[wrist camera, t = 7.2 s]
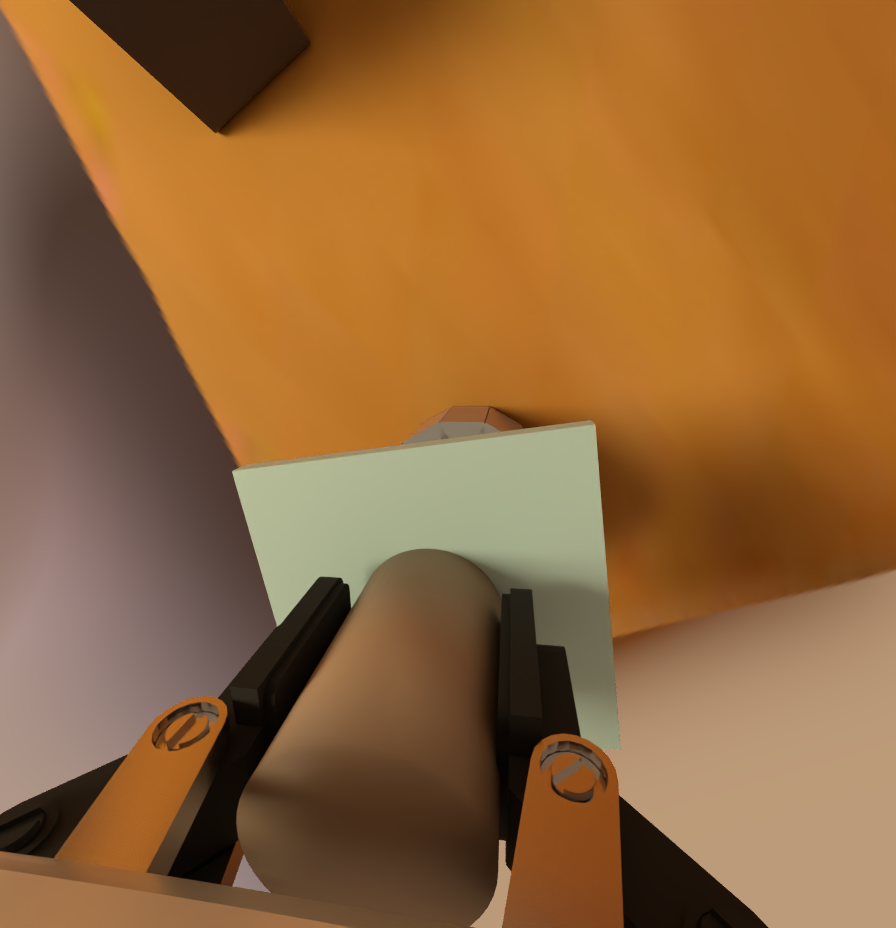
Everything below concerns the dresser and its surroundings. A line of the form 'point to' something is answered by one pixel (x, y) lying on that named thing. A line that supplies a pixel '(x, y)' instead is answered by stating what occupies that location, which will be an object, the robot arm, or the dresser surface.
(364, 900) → the lid
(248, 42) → the phone stand
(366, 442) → the dresser surface
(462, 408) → the cup
